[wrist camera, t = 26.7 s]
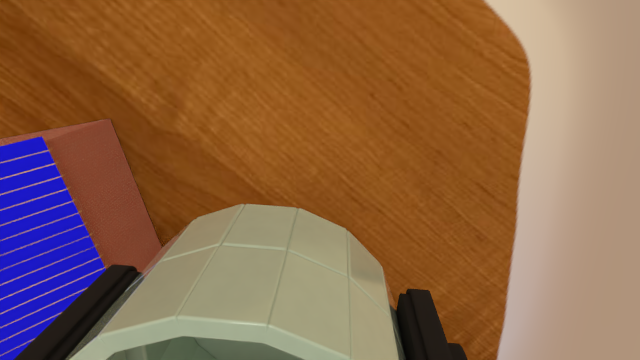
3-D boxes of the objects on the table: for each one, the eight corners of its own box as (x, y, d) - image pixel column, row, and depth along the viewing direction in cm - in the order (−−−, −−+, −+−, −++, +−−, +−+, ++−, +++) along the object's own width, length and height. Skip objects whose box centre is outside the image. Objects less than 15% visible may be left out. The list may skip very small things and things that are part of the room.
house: (78, 337, 34) (-42, 477, 23) (-33, 140, 27) (-282, 207, 16) (195, 323, 33) (127, 463, 22) (112, 113, 26) (-51, 166, 15)
